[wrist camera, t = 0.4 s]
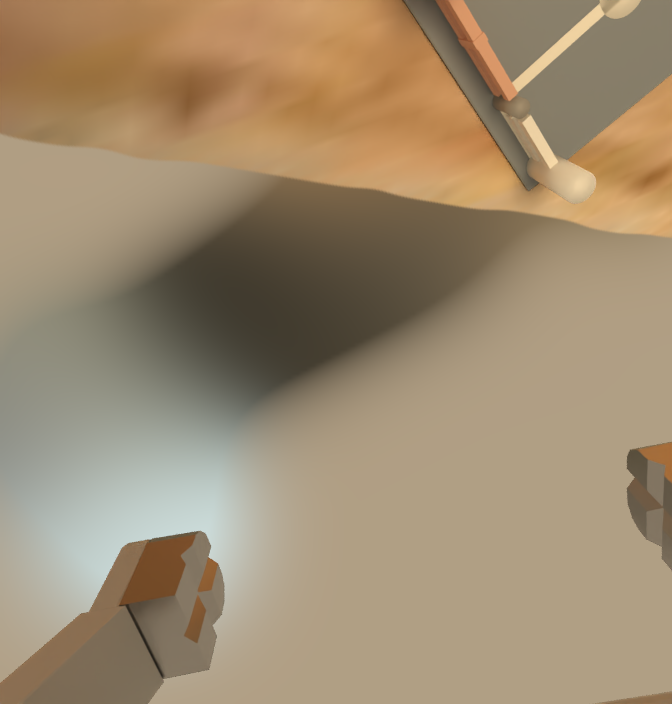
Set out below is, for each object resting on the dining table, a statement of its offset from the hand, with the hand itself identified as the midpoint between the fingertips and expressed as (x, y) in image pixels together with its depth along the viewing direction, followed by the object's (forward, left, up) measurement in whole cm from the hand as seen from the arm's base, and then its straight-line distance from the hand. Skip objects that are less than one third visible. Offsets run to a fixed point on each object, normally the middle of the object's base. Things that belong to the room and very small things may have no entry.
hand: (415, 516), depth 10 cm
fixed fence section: (-6, +26, -49) cm, 56 cm away
